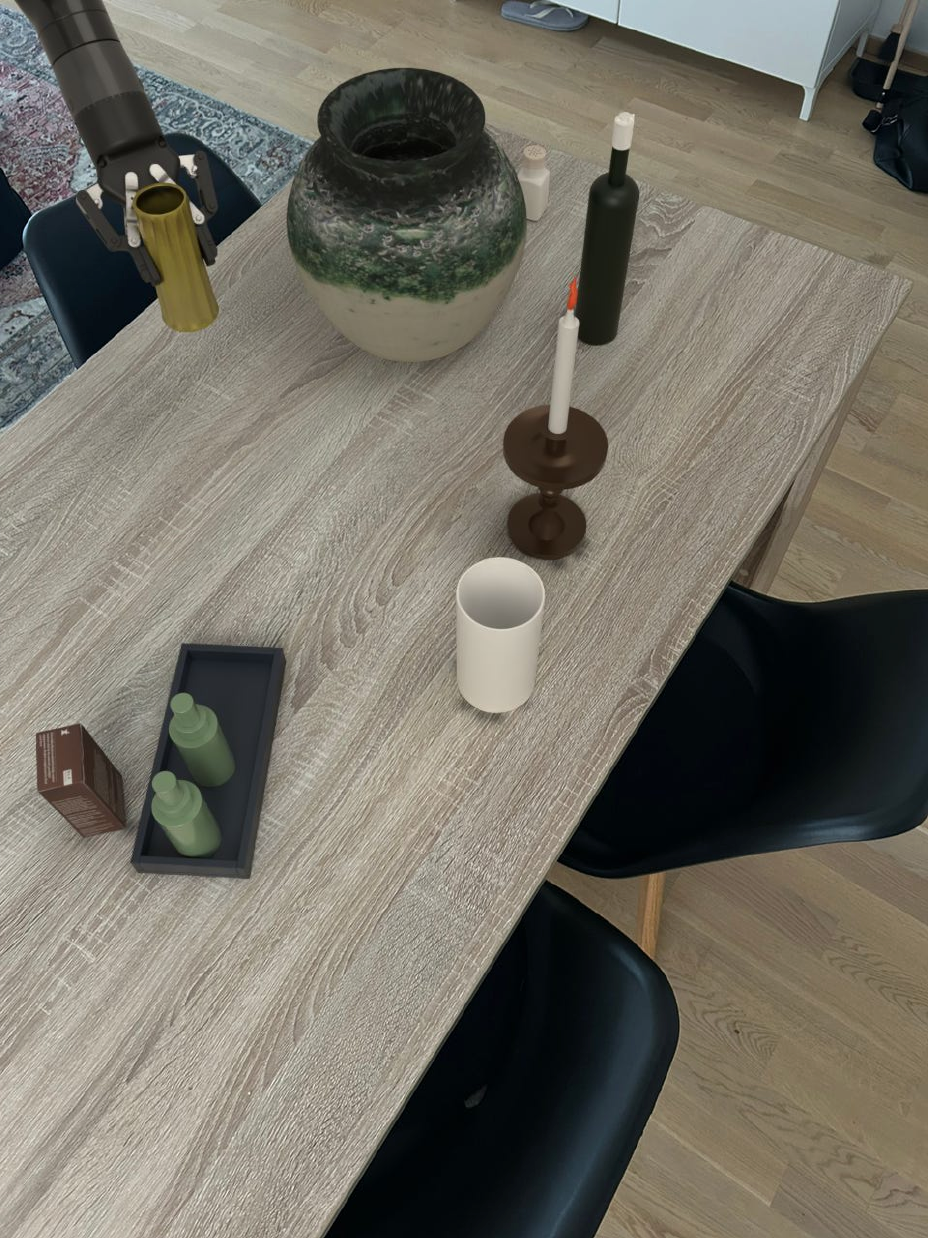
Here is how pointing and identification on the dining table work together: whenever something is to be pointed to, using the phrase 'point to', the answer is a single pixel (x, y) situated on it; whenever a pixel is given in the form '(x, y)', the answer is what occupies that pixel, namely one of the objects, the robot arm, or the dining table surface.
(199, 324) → the vase
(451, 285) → the vase
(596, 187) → the wine bottle
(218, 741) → the bottles
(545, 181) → the pepper shaker
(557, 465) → the candlestick
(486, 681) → the cup
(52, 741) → the box
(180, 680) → the tray
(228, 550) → the dining table surface
